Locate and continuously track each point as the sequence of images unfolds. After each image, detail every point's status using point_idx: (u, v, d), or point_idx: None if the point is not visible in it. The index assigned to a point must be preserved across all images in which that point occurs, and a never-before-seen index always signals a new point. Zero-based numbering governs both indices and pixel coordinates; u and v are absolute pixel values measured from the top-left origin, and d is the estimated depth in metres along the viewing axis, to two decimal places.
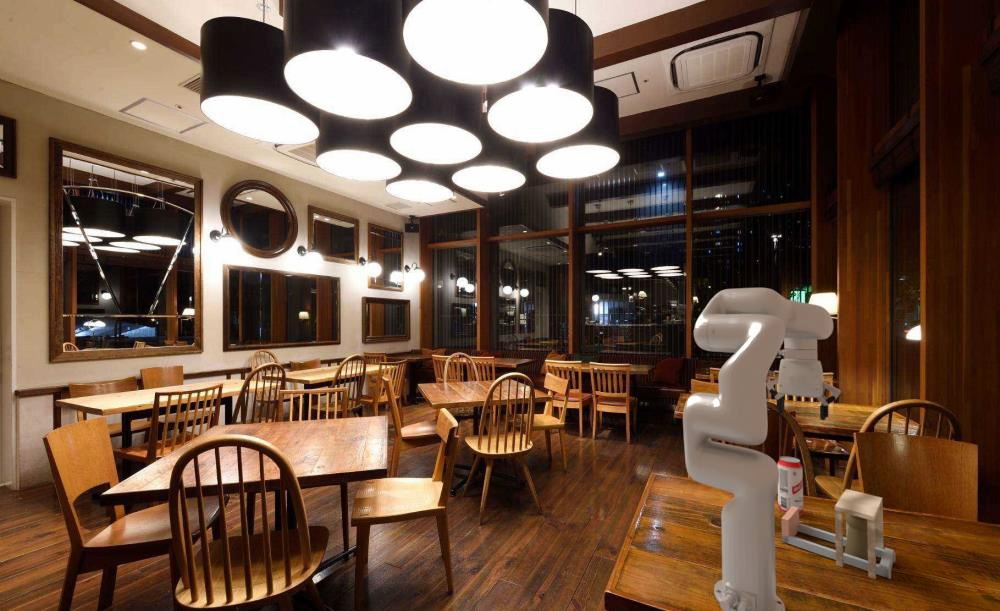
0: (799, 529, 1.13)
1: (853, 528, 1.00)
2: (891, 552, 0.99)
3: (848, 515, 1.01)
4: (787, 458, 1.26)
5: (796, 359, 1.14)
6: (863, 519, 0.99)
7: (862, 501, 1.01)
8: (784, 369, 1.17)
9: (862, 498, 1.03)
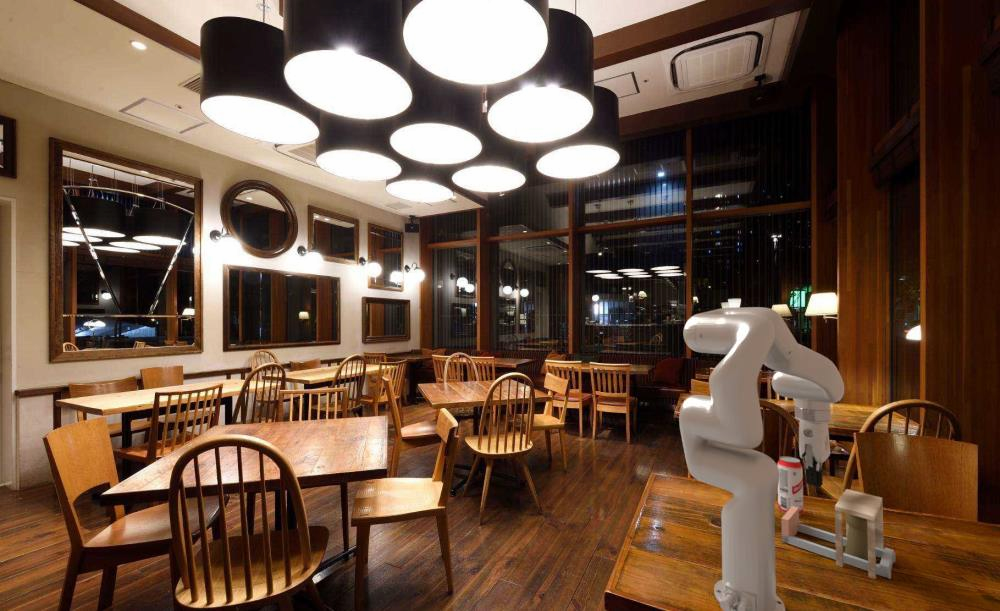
0: (799, 529, 1.13)
1: (853, 528, 1.00)
2: (891, 552, 0.99)
3: (848, 515, 1.01)
4: (787, 458, 1.26)
5: (830, 420, 1.05)
6: (863, 519, 0.99)
7: (862, 501, 1.01)
8: (822, 435, 1.04)
9: (862, 498, 1.03)
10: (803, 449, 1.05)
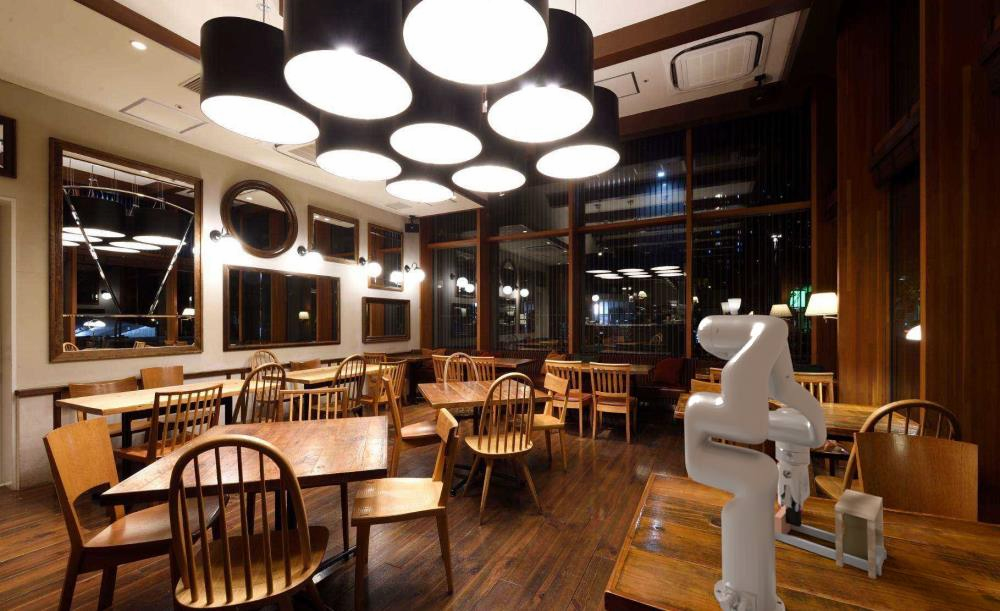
0: (792, 527, 1.14)
1: (850, 527, 1.01)
2: (882, 549, 1.00)
3: (845, 514, 1.02)
4: None
5: (809, 462, 1.08)
6: (860, 518, 0.99)
7: (862, 501, 1.01)
8: (801, 476, 1.07)
9: (862, 498, 1.03)
10: (782, 490, 1.08)
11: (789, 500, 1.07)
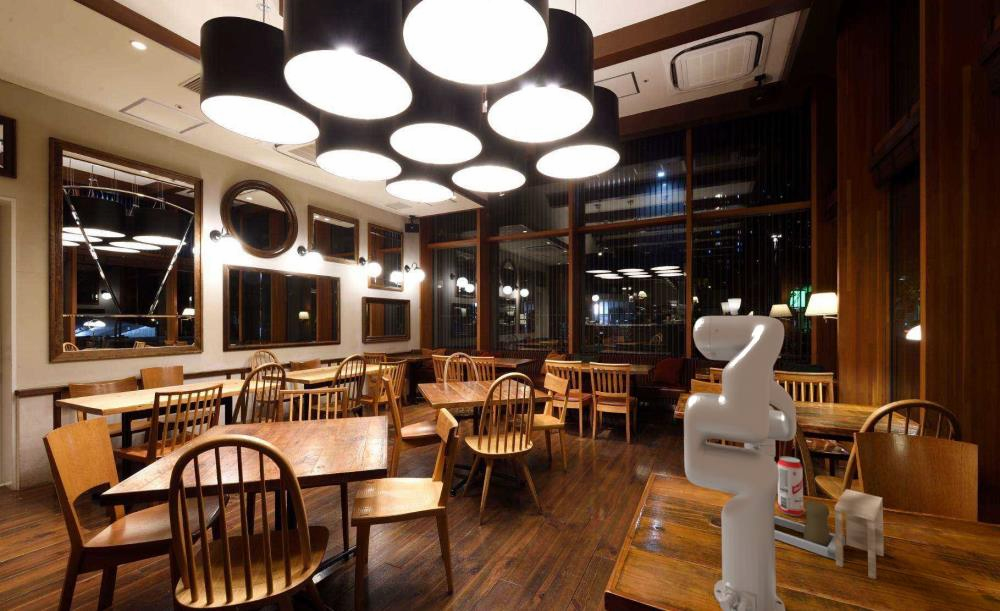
0: None
1: (811, 516, 1.06)
2: None
3: (806, 504, 1.07)
4: (787, 458, 1.26)
5: (774, 455, 1.14)
6: (820, 507, 1.05)
7: (862, 501, 1.01)
8: None
9: (862, 498, 1.03)
10: None
11: None
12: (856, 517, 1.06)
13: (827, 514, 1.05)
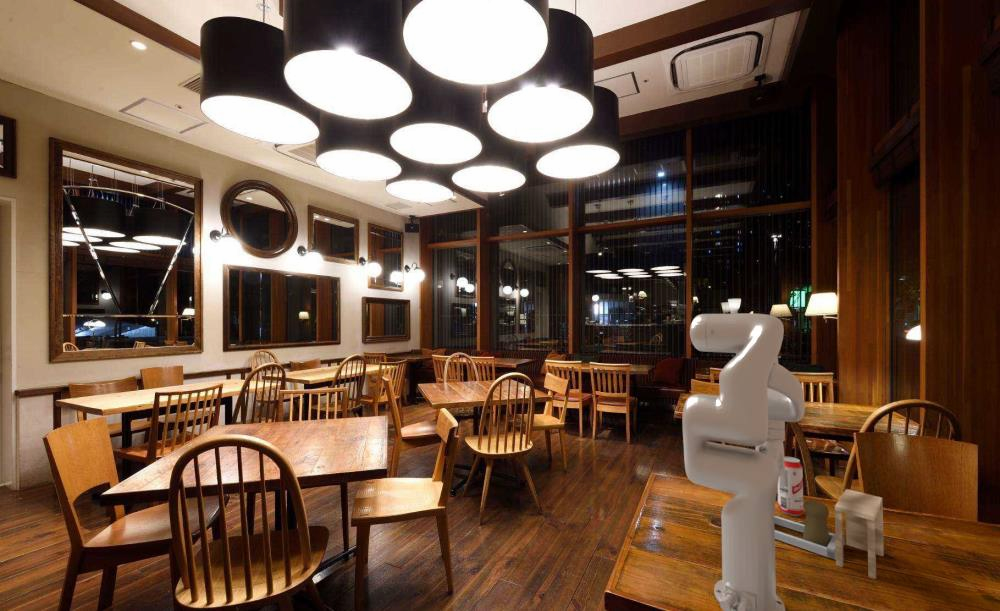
0: None
1: (811, 516, 1.06)
2: None
3: (806, 504, 1.07)
4: (787, 458, 1.26)
5: (784, 439, 1.12)
6: (819, 507, 1.05)
7: (862, 501, 1.01)
8: (776, 452, 1.11)
9: (862, 498, 1.03)
10: None
11: None
12: (856, 517, 1.06)
13: (826, 514, 1.05)
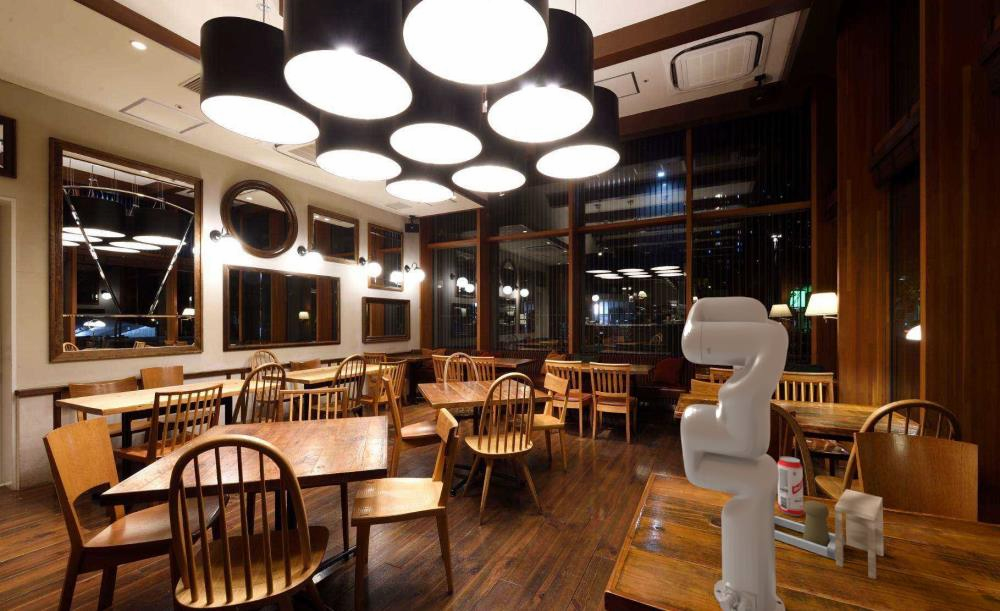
0: None
1: (811, 516, 1.06)
2: None
3: (806, 504, 1.07)
4: (787, 458, 1.26)
5: None
6: (819, 507, 1.05)
7: (862, 501, 1.01)
8: None
9: (862, 498, 1.03)
10: None
11: None
12: (856, 517, 1.06)
13: (826, 514, 1.05)
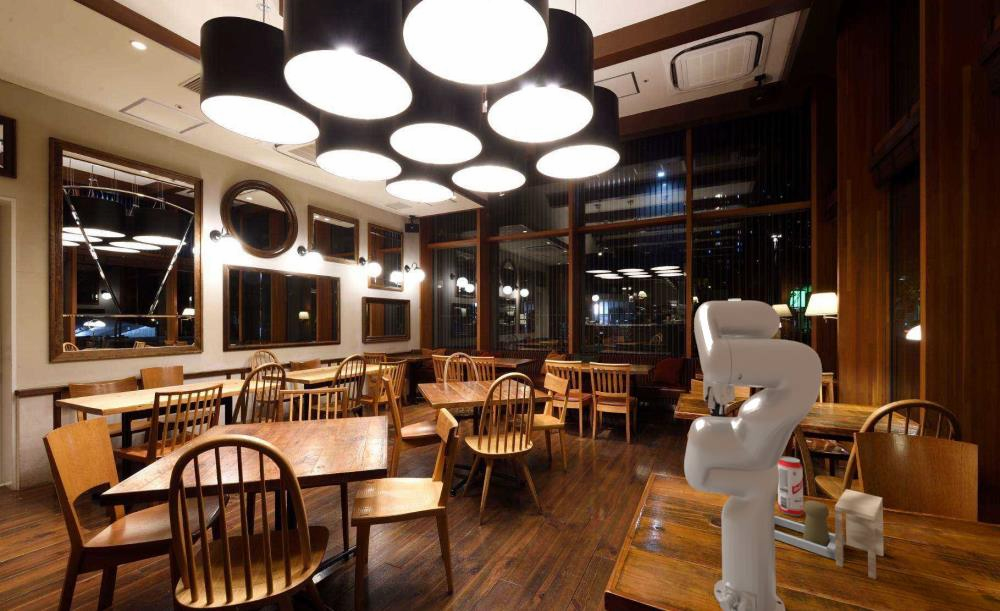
0: None
1: (811, 516, 1.06)
2: None
3: (806, 504, 1.07)
4: (787, 458, 1.26)
5: None
6: (819, 507, 1.05)
7: (862, 501, 1.01)
8: None
9: (862, 498, 1.03)
10: (706, 392, 1.10)
11: (712, 401, 1.09)
12: (856, 517, 1.06)
13: (826, 514, 1.05)
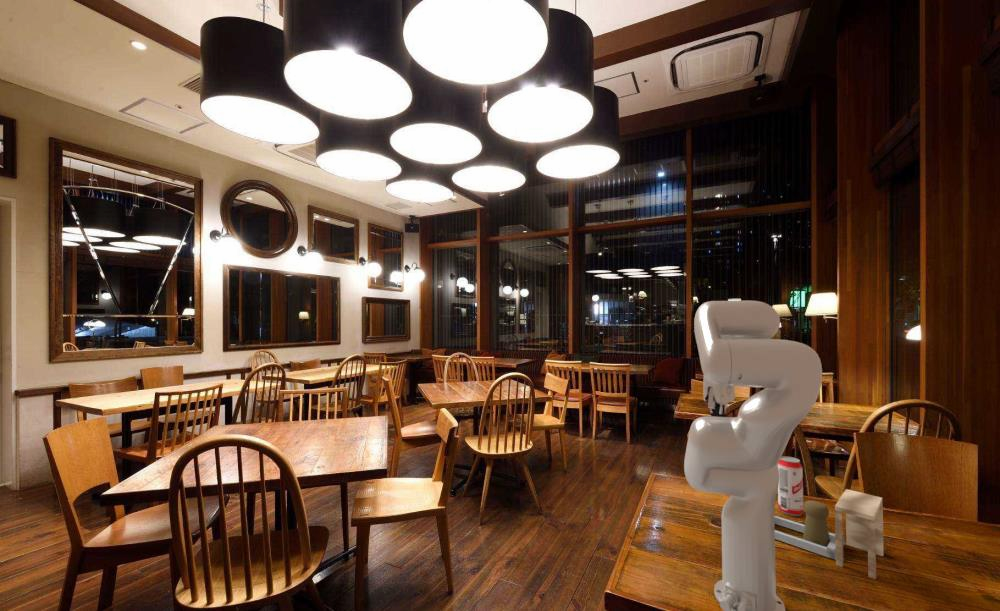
0: None
1: (811, 516, 1.06)
2: None
3: (806, 504, 1.07)
4: (787, 458, 1.26)
5: None
6: (819, 507, 1.05)
7: (862, 501, 1.01)
8: None
9: (862, 498, 1.03)
10: (706, 392, 1.10)
11: (712, 401, 1.09)
12: (856, 517, 1.06)
13: (826, 514, 1.05)
